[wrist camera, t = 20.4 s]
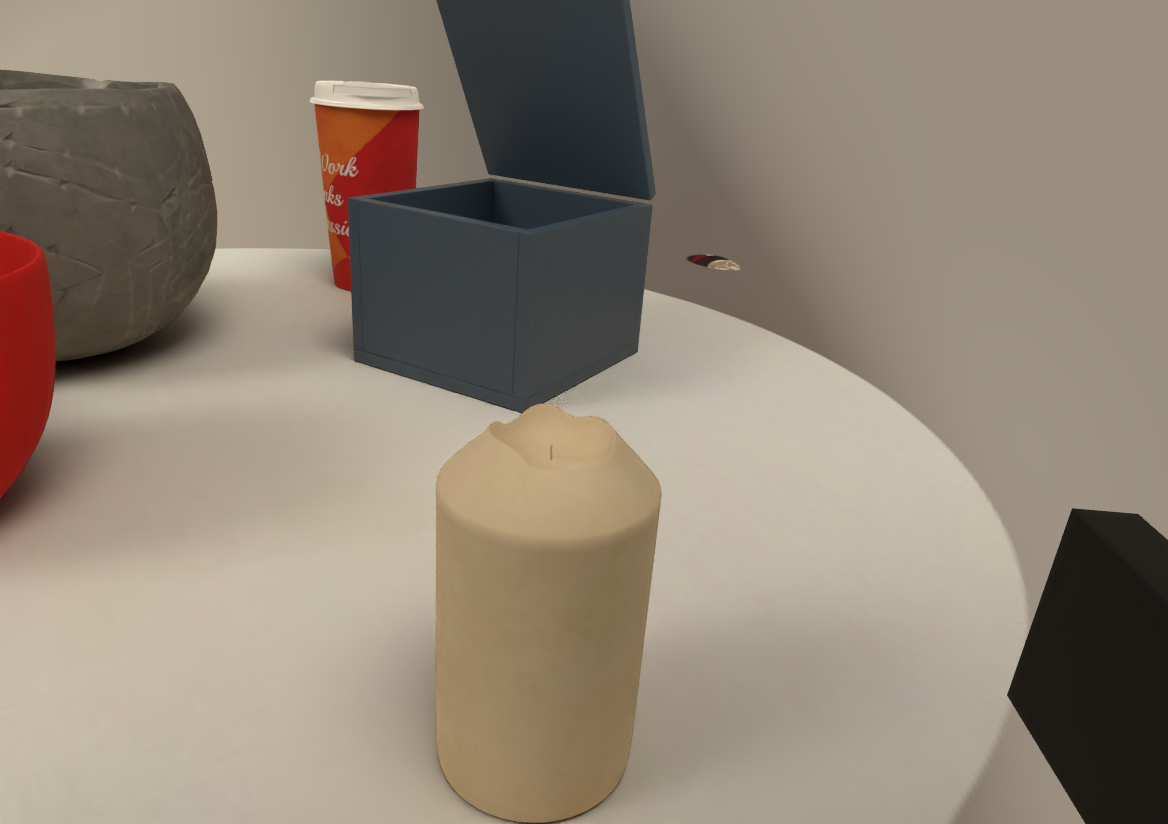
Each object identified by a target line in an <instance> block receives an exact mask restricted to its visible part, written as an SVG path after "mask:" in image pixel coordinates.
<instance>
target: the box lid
mask: <svg viewBox="0 0 1168 824" xmlns="http://www.w3.org/2000/svg"><path fill="white" fill-rule="evenodd" d="M437 3H438V7H439V10H440V14H441V17H442V20H443V24H444V27H445V30H446V34H447V37H448V41H449V44H450V47H451V50H452V54H453V57H454V61H455V64H456V67H457V70H458V74H459V77H460V81H461V84H462V87H463V91H464V94H465V97H466V100H467V104H468V107H469V111H470V114H471V117H472V121H473V124H474V127H475V131H476V134H477V138H478V141H479V144H480V147H481V151H482V154H483V158H484V161H485V164H486V168H487V171H488V174H491V175H497V176H503V177H509V178H515V179H521V180H528V181H534V182H540V183H546V184H552V185H558V186H565V187H571V188H578V189H583V190H590V191H596V192H602V193H608V194H615V195H620V196H627V197H633V198H639V199H645V200H651V199H652V198H653V197H654V195H655V193H656V192H655V184H654V177H653V170H652V162H651V155H650V147H649V140H648V133H647V125H646V118H645V110H644V104H643V96H642V89H641V81H640V73H639V66H638V59H637V51H636V44H635V36H634V29H633V22H632V14H631V8H630V0H437Z"/></svg>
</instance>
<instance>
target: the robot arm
mask: <svg viewBox="0 0 1168 824" xmlns="http://www.w3.org/2000/svg"><path fill="white" fill-rule="evenodd" d="M1007 696H1008V698H1009V699H1010V701H1011V702H1012V704H1013V706H1014V707H1015V709H1016V711H1017V712H1018V714H1019V716H1020V717H1021V719H1022V720H1023V722H1024V724H1025V725H1026V727H1027V729H1028V730H1029V732H1030V734H1031V735H1032V737H1033V738H1034V740H1035V741H1036V743H1037V745H1038V746H1039V748H1040V750H1041V751H1042V753H1043V755H1044V756H1045V758H1046V760H1047V761H1048V763H1049V765H1050V766H1051V768H1052V770H1053V771H1054V773H1055V775H1056V776H1057V778H1058V779H1059V781H1060V783H1061V784H1062V786H1063V788H1064V789H1065V791H1066V792H1067V794H1068V796H1069V797H1070V799H1071V801H1072V802H1073V804H1074V806H1075V807H1076V809H1077V811H1078V812H1079V814H1080V815H1081V817H1082V819H1083V820H1084V822H1085V824H1168V540H1167V539H1166V538H1165V537H1164V536H1163V535H1161V534H1160V533H1159V532H1158V531H1157V530H1156V529H1155V528H1153V527H1152V526H1151V525H1150V524H1149V523H1148V522H1147V521H1145V520H1144V519H1143V518H1142V517H1141V516H1140V515H1139V514H1131V513H1120V512H1108V511H1095V510H1084V509H1073V508H1072V510H1071V513H1070V516H1069V519H1068V522H1067V525H1066V527H1065V530H1064V533H1063V536H1062V539H1061V542H1060V545H1059V548H1058V550H1057V553H1056V556H1055V559H1054V562H1053V565H1052V568H1051V571H1050V573H1049V576H1048V579H1047V582H1046V585H1045V588H1044V591H1043V594H1042V597H1041V600H1040V602H1039V606H1038V608H1037V611H1036V614H1035V617H1034V619H1033V622H1032V625H1031V628H1030V631H1029V634H1028V637H1027V640H1026V642H1025V645H1024V648H1023V651H1022V654H1021V657H1020V660H1019V663H1018V665H1017V668H1016V671H1015V674H1014V677H1013V680H1012V683H1011V685H1010V688H1009V691H1008V694H1007Z"/></svg>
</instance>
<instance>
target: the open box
mask: <svg viewBox="0 0 1168 824" xmlns="http://www.w3.org/2000/svg"><path fill="white" fill-rule="evenodd" d="M651 214H652V205H651V204H645V203H639V202H633V201H626V200H620V199H614V198H608V197H602V196H596V195H590V194H583V193H578V192H572V191H565V190H559V189H553V188H547V187H541V186H535V185H529V184H522V183H517V182H511V181H505V180H498V179H493V178H490V179H482V180H475V181H468V182H460V183H453V184H445V185H438V186H431V187H423V188H416V189H409V190H401V191H394V192H386V193H379V194H372V195H364V196H357V197H350V198H348V218H349V243H350V269H351V294H352V319H353V345H354V360H355V361H358V362H361V363H364V364H368V365H371V366H374V367H377V368H380V369H384V370H387V371H390V372H393V373H396V374H400V375H403V376H406V377H409V378H413V379H416V380H419V381H422V382H425V383H429V384H432V385H435V386H438V387H441V388H445V389H448V390H451V391H454V392H457V393H461V394H464V395H467V396H470V397H473V398H477V399H480V400H483V401H486V402H490V403H493V404H496V405H499V406H502V407H506V408H509V409H512V410H515V411H518V412H522V413H523V412H524V411H526V410H527V409H529V408H530V407H532V406H534V405H537V404H542V403H543V402H545V401H547V400H549V399H551V398H553V397H555V396H556V395H558V394H560V393H562V392H564V391H566V390H567V389H569V388H571V387H573V386H575V385H577V384H579V383H580V382H582V381H584V380H586V379H588V378H590V377H591V376H593V375H595V374H597V373H599V372H601V371H603V370H604V369H606V368H608V367H610V366H612V365H614V364H615V363H617V362H619V361H621V360H623V359H625V358H627V357H628V356H630V355H632V354H634V353H636V352H637V351H638V343H639V341H638V340H639V333H640V323H641V313H642V303H643V293H644V283H645V274H646V263H647V254H648V244H649V234H650V224H651Z"/></svg>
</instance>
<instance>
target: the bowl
mask: <svg viewBox="0 0 1168 824" xmlns="http://www.w3.org/2000/svg"><path fill="white" fill-rule="evenodd" d="M211 181H212V176H211V172H210V167H209V163H208V159H207V155H206V151H205V148H204V144H203V141H202V137H201V133H200V131H199V128H198V126H197V123H196V121H195V118H194V115H193V113H192V111H191V109H190V107H189V106H188V104H187V102H186V100H185V98H184V97H183V95H182V94H181V92H180V90H179V89H178V88H177V87H176V86H175V85H174V84H172V83H164V82H121V81H111V80H106V81H98V80H94V79H88V78H78V77H69V76H59V75H50V74H41V73H31V72H22V71H10V70H0V232H4V233H9V234H13V235H17V236H20V237H23V238H25V239H28V240H30V241H33V242H34V243H35V244H36V245H37V246H39V247H40V248H41V249H42V250H43V252H44V254H45V258H46V261H47V266H48V271H49V278H50V285H51V294H52V304H53V315H54V331H55V361H67V360H74V359H80V358H86V357H90V356H95V355H99V354H104V353H108V352H112V351H116V350H119V349H121V348H124V347H126V346H129V345H132V344H134V343H137V342H139V341H141V340H143V339H144V338H146V337H148V336H150V335H152V334H153V332H158V331H159V330H161V329H162V328H164V327H165V326H167V325H168V324H169V323H170V322H172V321H173V320H174V319H175V318H176V317H177V316H178V315H179V314H180V313H181V312H182V311H183V310H184V308H185V307H186V306H187V305H188V304H189V303H190V302H191V301H192V299H193V298H194V297H195V295H196V294H197V292H198V290H199V288H200V286H201V284H202V283H203V281H204V279H205V277H206V275H207V274H208V271H209V268H210V264H211V261H212V259H213V256H214V252H215V247H216V236H217V207H216V199H215V193H214V187H213V184H212V182H211Z"/></svg>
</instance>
